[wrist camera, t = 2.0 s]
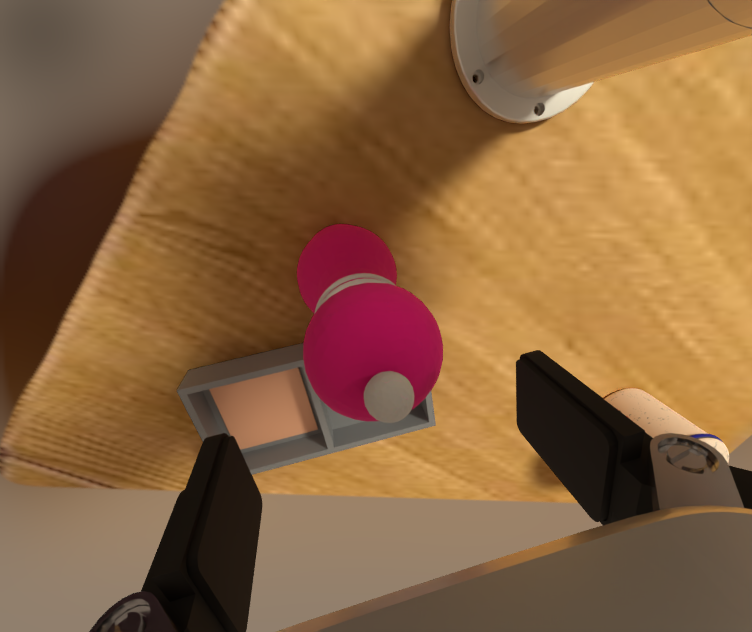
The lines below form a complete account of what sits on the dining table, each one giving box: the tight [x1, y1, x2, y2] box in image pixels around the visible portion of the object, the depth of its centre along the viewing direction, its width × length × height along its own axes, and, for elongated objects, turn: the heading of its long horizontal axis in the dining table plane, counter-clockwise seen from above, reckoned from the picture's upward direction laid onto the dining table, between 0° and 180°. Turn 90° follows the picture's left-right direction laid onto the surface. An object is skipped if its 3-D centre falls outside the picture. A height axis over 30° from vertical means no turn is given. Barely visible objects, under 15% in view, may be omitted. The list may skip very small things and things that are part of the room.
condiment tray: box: [177, 343, 436, 475], centre depth 33 cm, size 11×21×3 cm, turn 100°
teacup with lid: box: [604, 388, 729, 463], centre depth 38 cm, size 12×9×12 cm
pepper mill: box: [297, 224, 443, 423], centre depth 20 cm, size 7×7×20 cm
